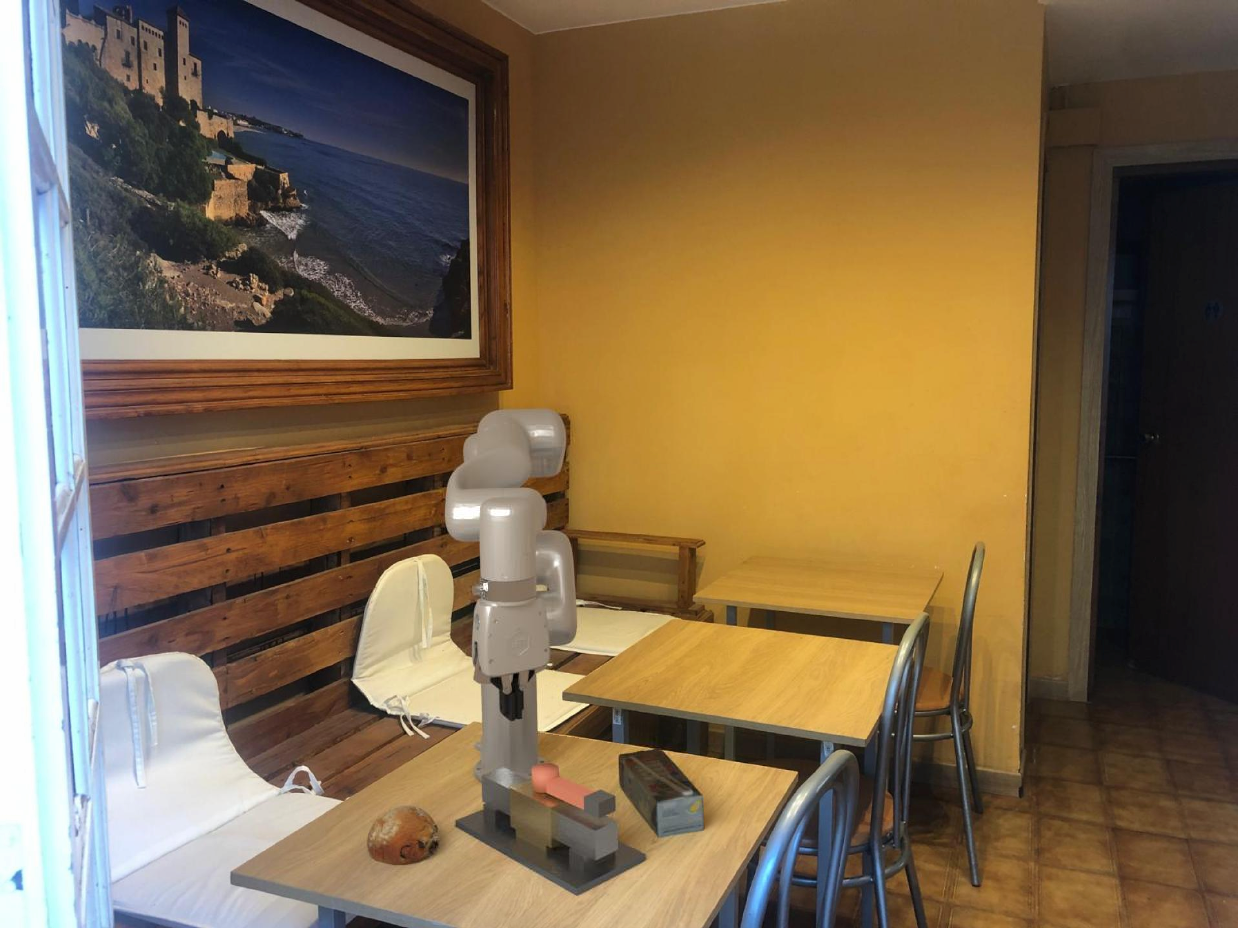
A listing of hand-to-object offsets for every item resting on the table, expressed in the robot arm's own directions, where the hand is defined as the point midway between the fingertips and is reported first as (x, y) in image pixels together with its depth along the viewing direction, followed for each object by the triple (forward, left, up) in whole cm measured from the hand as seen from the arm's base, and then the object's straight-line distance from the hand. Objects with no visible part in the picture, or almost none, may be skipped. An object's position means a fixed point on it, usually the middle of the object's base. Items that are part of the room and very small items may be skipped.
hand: (511, 716), depth 137 cm
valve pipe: (-2, +7, -22) cm, 23 cm away
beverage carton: (+2, +27, -22) cm, 35 cm away
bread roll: (-15, -8, -22) cm, 28 cm away
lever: (+3, +8, -13) cm, 15 cm away
